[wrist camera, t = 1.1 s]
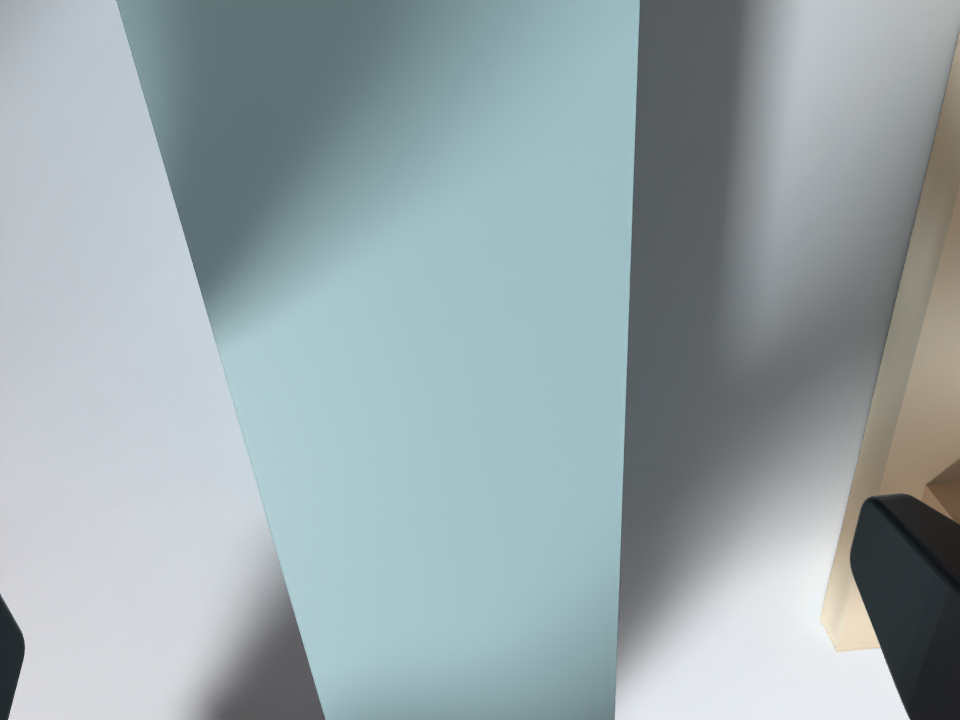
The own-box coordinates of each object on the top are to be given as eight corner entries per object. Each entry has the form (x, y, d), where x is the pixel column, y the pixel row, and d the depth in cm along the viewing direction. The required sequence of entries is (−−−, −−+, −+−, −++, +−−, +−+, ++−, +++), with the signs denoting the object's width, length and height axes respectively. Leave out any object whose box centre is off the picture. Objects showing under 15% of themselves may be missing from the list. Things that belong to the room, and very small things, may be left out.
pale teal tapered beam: (570, 550, 19) (613, 749, 15) (358, 570, 19) (342, 778, 15) (558, -439, 10) (661, -649, 6) (147, -407, 10) (-58, -599, 6)
